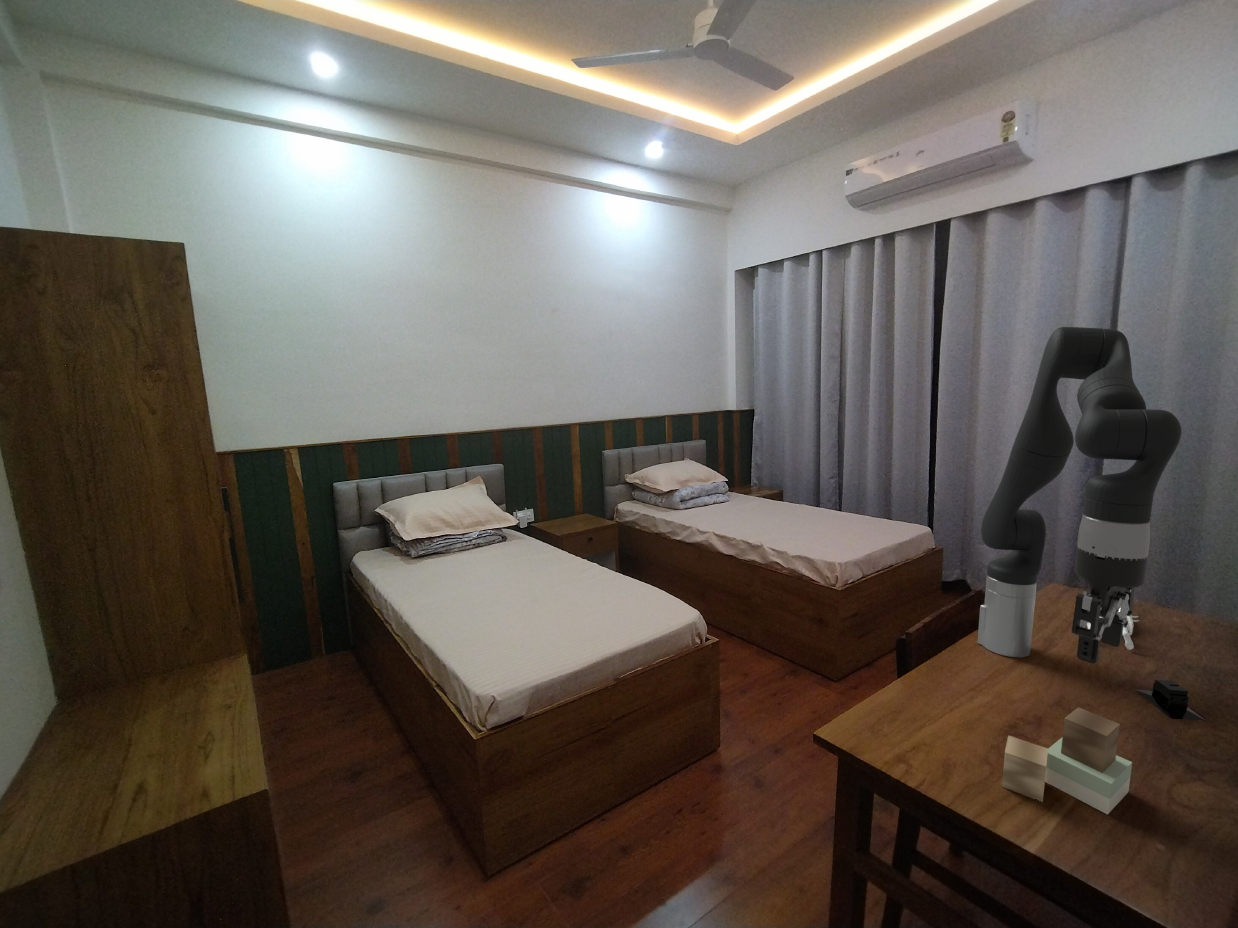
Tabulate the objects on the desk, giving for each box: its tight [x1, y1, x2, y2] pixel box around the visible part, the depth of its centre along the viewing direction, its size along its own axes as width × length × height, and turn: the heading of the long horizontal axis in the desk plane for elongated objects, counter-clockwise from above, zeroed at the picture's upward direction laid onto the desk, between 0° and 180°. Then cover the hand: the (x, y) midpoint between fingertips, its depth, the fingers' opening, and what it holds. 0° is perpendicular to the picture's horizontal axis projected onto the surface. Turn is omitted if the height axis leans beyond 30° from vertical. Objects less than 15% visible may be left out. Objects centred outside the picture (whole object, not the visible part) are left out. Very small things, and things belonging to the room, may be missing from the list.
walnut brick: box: [1061, 706, 1121, 773], centre depth 81 cm, size 5×5×6 cm
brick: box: [1001, 735, 1048, 803], centre depth 82 cm, size 5×5×6 cm
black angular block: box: [1134, 679, 1207, 722], centre depth 101 cm, size 12×7×5 cm, turn 168°
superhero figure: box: [1086, 614, 1140, 651], centre depth 131 cm, size 12×6×25 cm
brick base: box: [1045, 736, 1133, 815], centre depth 81 cm, size 8×8×5 cm
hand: (1098, 652), depth 78 cm, fingers open, 8 cm apart
